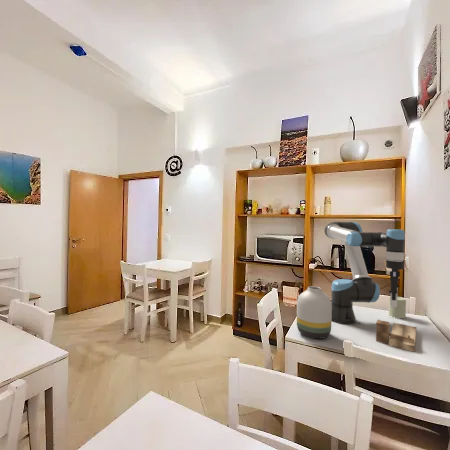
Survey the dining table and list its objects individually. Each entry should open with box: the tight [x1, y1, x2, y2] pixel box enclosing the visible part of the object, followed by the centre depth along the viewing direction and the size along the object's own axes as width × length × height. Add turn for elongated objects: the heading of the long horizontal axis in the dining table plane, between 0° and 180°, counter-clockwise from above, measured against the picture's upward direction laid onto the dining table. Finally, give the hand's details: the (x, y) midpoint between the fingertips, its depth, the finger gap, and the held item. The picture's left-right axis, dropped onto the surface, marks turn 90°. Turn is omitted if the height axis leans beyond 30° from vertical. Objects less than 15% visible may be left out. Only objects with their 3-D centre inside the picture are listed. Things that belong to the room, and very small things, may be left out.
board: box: [388, 322, 417, 352], centre depth 132 cm, size 10×28×3 cm, turn 143°
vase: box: [296, 285, 333, 340], centre depth 135 cm, size 17×17×24 cm
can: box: [387, 296, 407, 319], centre depth 164 cm, size 9×9×12 cm
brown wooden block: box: [375, 319, 414, 345], centre depth 126 cm, size 15×5×9 cm, turn 53°
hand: (393, 303), depth 131 cm, fingers open, 13 cm apart
